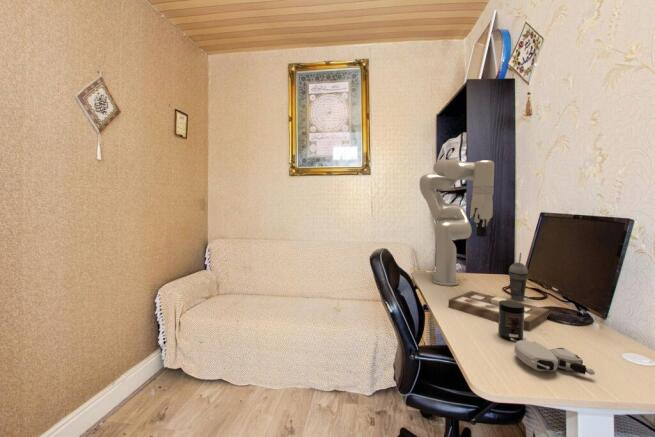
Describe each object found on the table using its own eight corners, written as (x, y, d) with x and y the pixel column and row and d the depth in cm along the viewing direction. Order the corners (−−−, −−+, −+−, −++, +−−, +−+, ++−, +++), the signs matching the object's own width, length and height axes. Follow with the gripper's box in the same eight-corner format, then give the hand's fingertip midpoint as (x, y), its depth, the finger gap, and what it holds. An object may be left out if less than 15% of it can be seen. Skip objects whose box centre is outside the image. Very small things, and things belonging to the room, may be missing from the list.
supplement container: (517, 332, 97) (518, 300, 97) (527, 342, 91) (529, 308, 90) (494, 331, 98) (495, 299, 98) (503, 341, 92) (504, 307, 91)
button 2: (513, 314, 110) (513, 308, 110) (518, 312, 113) (518, 305, 112) (526, 318, 107) (526, 311, 107) (530, 315, 110) (530, 308, 109)
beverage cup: (521, 297, 133) (523, 251, 131) (531, 302, 125) (533, 254, 124) (504, 296, 133) (505, 250, 132) (512, 302, 126) (514, 253, 125)
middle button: (490, 305, 116) (491, 299, 116) (495, 303, 119) (495, 296, 119) (501, 308, 113) (502, 301, 113) (506, 306, 116) (506, 299, 116)
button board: (448, 307, 121) (448, 298, 120) (471, 297, 132) (471, 290, 131) (529, 331, 98) (529, 321, 98) (548, 317, 109) (548, 308, 109)
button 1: (470, 303, 123) (470, 296, 123) (474, 300, 125) (475, 294, 125) (480, 305, 120) (480, 299, 120) (484, 303, 122) (485, 297, 122)
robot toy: (566, 359, 83) (506, 351, 86) (568, 343, 83) (508, 335, 85) (597, 387, 71) (527, 376, 74) (600, 368, 71) (529, 358, 73)
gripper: (482, 191, 132) (481, 234, 134) (464, 191, 123) (463, 236, 124) (500, 191, 126) (499, 235, 128) (483, 191, 117) (482, 238, 118)
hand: (481, 236), depth 126 cm, fingers closed
